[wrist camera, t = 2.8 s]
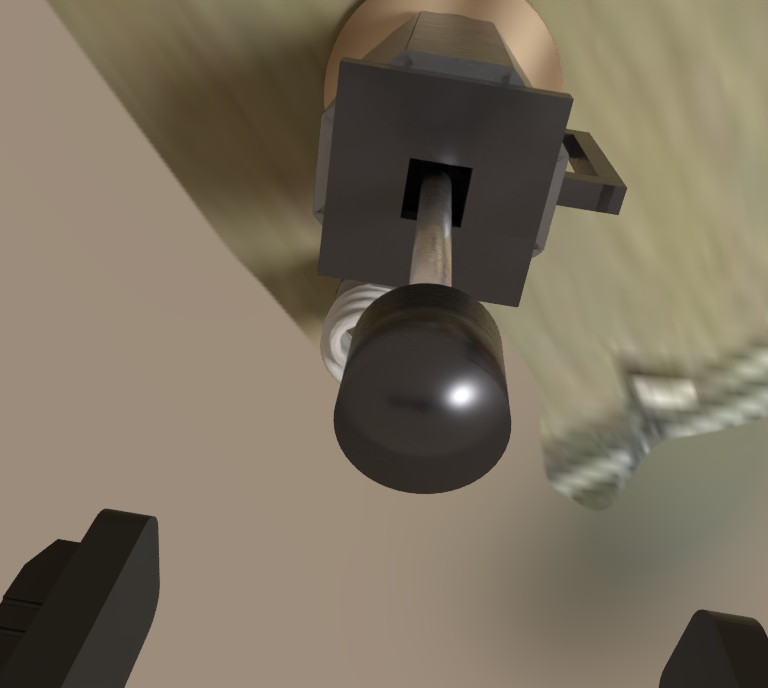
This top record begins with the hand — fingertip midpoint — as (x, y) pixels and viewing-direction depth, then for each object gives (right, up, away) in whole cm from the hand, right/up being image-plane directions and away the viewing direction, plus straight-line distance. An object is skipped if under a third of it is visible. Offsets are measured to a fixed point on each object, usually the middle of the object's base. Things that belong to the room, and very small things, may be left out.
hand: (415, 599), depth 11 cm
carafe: (+4, +18, +32) cm, 36 cm away
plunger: (+2, +12, +21) cm, 24 cm away
